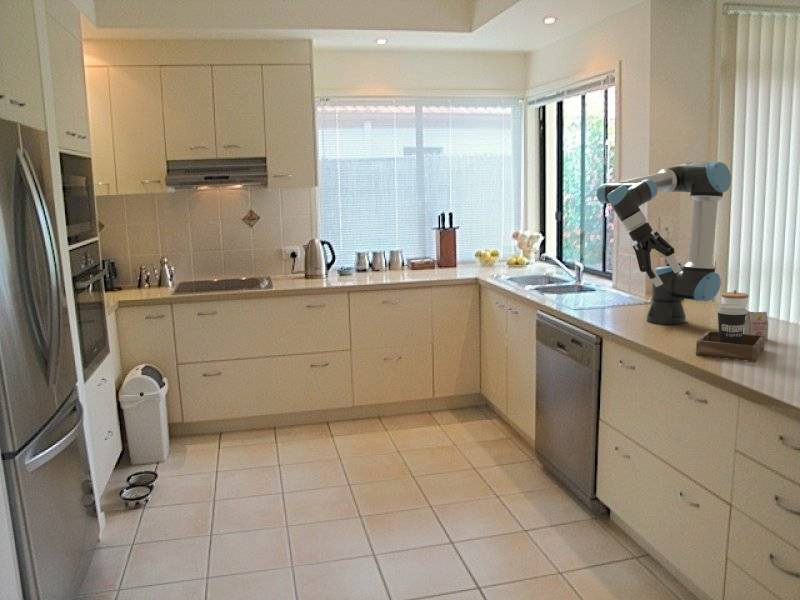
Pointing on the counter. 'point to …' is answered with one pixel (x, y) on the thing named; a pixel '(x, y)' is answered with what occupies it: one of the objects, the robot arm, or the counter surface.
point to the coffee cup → (731, 323)
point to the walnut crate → (730, 347)
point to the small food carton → (756, 324)
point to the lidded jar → (735, 298)
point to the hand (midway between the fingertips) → (669, 278)
